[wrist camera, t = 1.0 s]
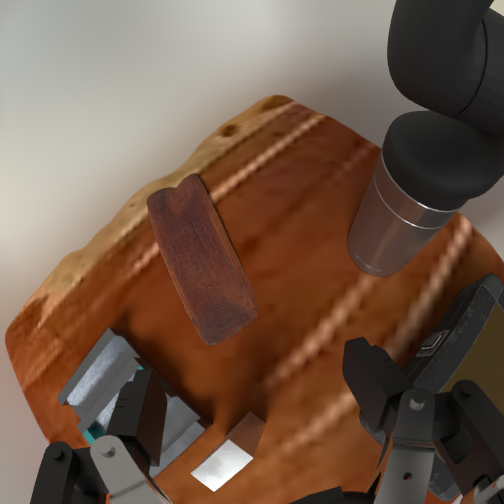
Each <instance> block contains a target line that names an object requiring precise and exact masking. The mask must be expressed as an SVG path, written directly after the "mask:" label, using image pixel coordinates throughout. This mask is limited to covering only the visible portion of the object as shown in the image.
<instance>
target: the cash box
mask: <svg viewBox="0 0 504 504" xmlns="http://www.w3.org/2000/svg"><path fill="white" fill-rule="evenodd" d="M402 372H403V373H404V374H405V375H406V377H407V378H408V379H409V380H410V382H411V383H412V384H413V385H414V387H415V388H423V389H426V390H428V391H430V392H431V393H432V394H437V393H443V392H448V391H451V389H452V387H453V385H454V384H455V383H456V382H457V381H460V380H465V379H466V380H471V381H473V382H475V383H476V384H477V385H478V386H479V387H480V388H481V389H482V390H483V392H484V393H485V394H486V395H487V396H488V398H489V399H490V400H491V401H492V402H493V404H494V405H495V406H496V407H497V409H498V410H499V411H500V412H501V414H502V415H503V416H504V285H503V284H502V282H501V281H500V280H499V278H498V277H497V276H496V275H494V274H493V273H489V274H487V275H485V276H484V277H482V278H480V279H479V280H477V281H475V282H473V283H472V284H470V285H468V286H466V287H465V288H463V289H461V291H460V292H459V294H458V296H457V297H456V299H455V300H454V302H453V303H452V305H451V306H450V308H449V309H448V311H447V312H446V314H445V315H444V317H443V318H442V319H441V321H440V322H439V324H438V325H437V326H436V328H435V329H434V330H433V332H432V333H431V334H430V336H429V337H428V338H427V339H426V340H425V342H424V343H423V344H422V345H421V347H420V348H419V350H418V351H417V352H416V353H415V355H414V356H413V357H412V358H411V359H410V360H409V362H408V363H407V364H406V365H405V366H404V367H403V369H402ZM359 418H360V421H361V424H362V426H363V427H364V428H365V429H366V430H367V431H368V432H369V433H370V434H371V436H372V437H373V438H374V439H375V440H376V441H377V442H378V443H379V444H380V445H381V446H382V444H383V441H384V438H385V435H386V434H385V432H384V431H383V430H382V431H380V432H377V433H374V432H373V430H372V428H371V426H370V424H369V423H368V421H367V419H366V417H365V415H364V413H363V412H362V413H361V414H360V416H359ZM464 429H465V428H464ZM466 432H467V431H466ZM467 433H468V432H467ZM468 435H469V434H468ZM469 436H470V435H469ZM470 438H471V437H470ZM471 439H472V438H471ZM472 441H473V440H472ZM431 444H434V442H433V441H431ZM434 445H435V444H434ZM428 490H429V491H430V492H431V493H433V494H434V495H435V496H437V497H438V498H439V499H440V500H442V501H450V500H452V499H453V498H454V497H456V496H457V495H458V494H459V493H460V490H459V488H458V486H457V484H456V482H455V480H454V478H453V476H452V474H451V473H450V471H449V469H448V467H447V465H446V464H445V462H444V460H443V458H442V456H441V455H440V453H439V451H438V449H437V448H436V446H435V453H434V459H433V465H432V470H431V475H430V480H429V484H428Z"/></svg>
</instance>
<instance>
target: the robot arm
mask: <svg viewBox="0 0 504 504" xmlns="http://www.w3.org/2000/svg"><path fill="white" fill-rule="evenodd" d="M493 1H494V0H396V4H395V7H394V11H393V15H392V19H391V24H390V29H389V36H388V47H387V51H388V52H387V59H388V67H389V71H390V75H391V78H392V80H393V82H394V84H395V86H396V87H397V89H398V90H399V91H400V92H401V94H403V95H404V96H405V97H406V98H408V99H409V100H411V101H413V102H414V103H416V104H418V105H420V106H422V107H424V108H427V109H429V110H430V111H415V112H409V113H405V114H403V115H401V116H399V117H397V118H396V119H395V120H394V121H393V122H392V124H391V125H390V127H389V129H388V131H387V134H386V137H385V140H384V143H383V146H382V149H381V152H380V155H379V158H378V160H377V163H376V166H375V169H374V172H373V175H372V177H371V180H370V183H369V185H368V188H367V190H366V193H365V195H364V198H363V200H362V203H361V205H360V208H359V210H358V213H357V215H356V217H355V220H354V222H353V225H352V227H351V229H350V232H349V235H348V249H349V253H350V255H351V257H352V259H353V261H354V262H355V263H356V265H357V266H358V267H359V268H360V269H362V270H363V271H364V272H366V273H368V274H370V275H373V276H378V277H386V276H390V275H393V274H395V273H396V272H398V271H399V270H400V269H401V268H402V267H404V266H405V265H406V264H407V263H408V262H409V261H410V260H411V259H412V258H413V257H414V256H415V255H416V254H417V253H419V252H420V251H421V250H422V249H423V248H424V247H425V246H426V245H427V244H428V243H429V242H430V241H431V240H432V239H433V238H434V237H435V236H436V234H437V233H438V232H439V231H440V230H441V229H442V228H443V227H444V226H445V225H446V224H447V223H448V222H449V221H450V220H451V218H452V217H453V216H454V215H455V214H456V213H457V212H458V211H459V209H460V208H461V207H462V206H463V205H464V204H465V203H466V202H467V201H468V200H469V199H471V198H475V197H478V196H480V195H482V194H484V193H486V192H487V191H488V190H489V189H490V188H491V187H493V186H494V184H495V183H496V182H497V181H498V180H499V179H500V178H501V177H502V176H503V175H504V16H502V15H500V14H499V13H497V12H496V11H494V10H492V9H491V8H489V7H490V6H491V4H492V2H493ZM342 371H343V376H344V379H345V381H346V383H347V385H348V386H349V388H350V390H351V392H352V394H353V395H354V397H355V399H356V401H357V403H358V404H359V406H360V408H361V410H362V412H363V413H364V415H365V417H366V419H367V421H368V423H369V424H370V426H371V428H372V430H373V432H374V433H377V432H380V431H382V430H383V431H384V432H385V434H386V435H385V438H384V441H383V444H382V448H381V451H380V454H379V457H378V460H377V463H376V466H375V469H374V472H373V474H372V477H371V479H370V481H369V483H368V485H367V487H366V490H365V492H356V491H345V492H342V489H341V487H340V486H339V487H336V488H332V489H329V490H325V491H322V492H318V493H314V494H310V495H308V496H306V497H304V498H301V499H299V500H297V501H294V502H292V503H290V504H424V500H425V497H426V493H427V489H428V484H429V480H430V475H431V470H432V465H433V459H434V453H435V446H436V448H437V449H438V451H439V453H440V455H441V456H442V458H443V460H444V462H445V464H446V465H447V467H448V469H449V471H450V473H451V474H452V476H453V478H454V480H455V482H456V484H457V486H458V488H459V490H460V492H461V493H462V495H463V498H462V499H461V502H460V504H504V416H503V415H502V414H501V412H500V411H499V410H498V409H497V407H496V406H495V405H494V404H493V402H492V401H491V400H490V399H489V398H488V396H487V395H486V394H485V393H484V392H483V390H482V389H481V388H480V387H479V386H478V385H477V384H476V383H475V382H473V381H471V380H466V379H465V380H460V381H457V382H456V383H455V384H454V385H453V387H452V389H451V391H448V392H443V393H437V394H432V393H431V392H430V391H428V390H426V389H423V388H415V387H414V385H413V384H412V383H411V382H410V380H409V379H408V378H407V377H406V375H405V374H404V373H403V372H402V370H401V369H400V368H399V367H398V366H396V363H395V362H394V361H393V359H391V357H390V356H389V354H388V353H387V352H386V351H385V350H384V349H382V348H380V347H378V346H377V345H374V346H370V344H369V343H368V342H367V341H366V339H365V338H364V337H360V338H356V339H352V340H349V341H346V343H345V348H344V357H343V366H342ZM166 412H167V397H166V393H165V391H164V389H163V386H162V384H161V382H160V379H159V377H158V375H157V372H156V370H155V369H138V370H136V372H135V375H134V378H133V381H127V382H126V383H125V385H124V386H123V387H122V388H121V389H120V392H119V395H118V397H117V400H116V403H115V408H114V409H113V412H112V415H111V418H110V422H109V425H108V428H107V431H106V434H105V436H102V437H99V438H98V439H96V440H95V441H94V442H93V444H92V445H91V447H87V448H80V449H72V448H71V447H70V446H69V445H68V444H67V443H65V442H61V441H58V442H54V443H52V444H50V445H49V446H48V447H47V449H46V450H45V453H44V456H43V459H42V462H41V465H40V468H39V472H38V475H37V479H36V482H35V486H34V490H33V493H32V498H31V501H30V504H105V503H106V494H107V493H110V494H111V497H109V500H110V503H111V504H173V503H172V502H171V501H170V499H169V498H168V497H167V496H166V495H165V493H164V492H163V491H162V490H161V488H160V487H159V486H158V485H157V483H156V482H155V481H154V479H153V478H152V477H151V475H150V474H149V472H150V466H152V467H159V466H160V457H161V448H162V441H163V433H164V426H165V419H166ZM464 428H465V429H464ZM466 431H467V432H468V433H467V432H466ZM468 434H469V435H470V436H469V435H468ZM470 437H471V438H472V439H471V438H470ZM472 440H473V441H472ZM431 441H433V442H434V444H435V445H434V444H431Z"/></svg>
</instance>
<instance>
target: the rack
mask: <svg viewBox="0 0 504 504" xmlns="http://www.w3.org/2000/svg"><path fill="white" fill-rule="evenodd" d="M138 369H155V368H154V367H153V365H152V364H151V363H150V362H149V361H148V360H147V359H146V358H145V357H144V356H143V354H142V353H141V352H140V351H139V350H138V349H137V348H136V346H135V345H134V344H133V343H132V342H131V341H130V339H129V338H128V337H127V336H126V335H125V333H124V332H123V331H120V330H117V329H113V328H108V329H107V330H106V332H105V333H104V334H103V335H102V337H101V338H100V339H99V341H98V342H97V343H96V345H95V346H94V347H93V349H92V350H91V351H90V353H89V354H88V355H87V357H86V358H85V359H84V361H83V362H82V363H81V365H80V366H79V367H78V369H77V370H76V372H75V373H74V374H73V376H72V377H71V378H70V380H69V381H68V383H67V384H66V386H65V387H64V388H63V390H62V391H61V393H60V394H59V396H58V397H57V398H58V400H59V402H60V403H61V405H62V406H63V405H71V407H72V408H73V410H74V411H75V412H76V414H77V415H78V417H79V418H80V419H81V422H80V423H79V424H78V426H77V428H78V429H79V431H80V432H81V433H82V435H83V436H84V437H85V438H86V440H87V441H88V442H89V443H90V445H92V444H93V442H94V441H95V440H96V439H98V438H99V437H102V436H105V434H106V431H107V428H108V425H109V422H110V418H111V415H112V412H113V409H114V408H115V403H116V400H117V397H118V395H119V392H120V389H121V388H122V387H123V386H124V385H125V383H126V382H127V381H133V378H134V375H135V372H136V370H138ZM155 370H156V369H155ZM156 372H157V375H158V377H159V379H160V382H161V384H162V386H163V389H164V391H165V393H166V397H167V412H166V419H165V426H164V433H163V441H162V448H161V457H160V466H159V467H152V466H150V472H149V474H150V475H151V477H152V478H153V479H154V478H155V477H157V476H158V475H159V474H160V473H161V472H162V471H163V470H165V469H166V468H167V467H168V466H169V465H170V464H171V463H173V462H174V461H175V460H176V459H177V458H178V457H179V456H180V455H181V454H182V453H183V452H185V451H186V450H187V449H188V448H189V447H190V446H191V445H192V444H193V443H194V442H195V441H196V440H197V439H198V438H199V437H200V436H201V435H202V434H203V433H204V432H205V431H206V430H207V429H208V428H209V427H210V426H211V425H212V424H213V423H212V422H211V421H210V420H209V419H207V418H206V417H205V416H204V415H203V414H202V413H201V412H199V411H198V410H197V409H196V408H195V407H194V406H193V405H192V404H191V403H190V402H189V401H187V400H186V399H185V398H184V397H183V396H182V395H181V394H180V393H179V392H178V391H177V390H176V389H175V388H174V387H173V386H172V385H171V384H170V383H169V382H168V381H167V380H166V379H165V378H164V377H163V376H162V375H161V374H160V373H159V372H158V371H157V370H156Z"/></svg>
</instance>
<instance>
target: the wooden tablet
mask: <svg viewBox="0 0 504 504" xmlns="http://www.w3.org/2000/svg"><path fill="white" fill-rule="evenodd" d="M147 206H148V212H149V216H150V220H151V224H152V227H153V230H154V234H155V237H156V240H157V243H158V246H159V248H160V251H161V254H162V257H163V259H164V261H165V264H166V266H167V268H168V271H169V273H170V276H171V278H172V280H173V283H174V285H175V287H176V289H177V292H178V294H179V296H180V298H181V300H182V303H183V305H184V307H185V309H186V311H187V313H188V315H189V317H190V318H191V319H192V323H193V325H194V327H195V329H196V330H197V332H198V334H199V336H200V337H201V338H202V340H203V341H204V342H205V343H206V344H207V345H209V346H211V345H214V344H218V343H220V342H222V341H224V340H227V339H229V338H231V337H233V336H234V335H235V334H236V333H237V332H238V330H239V329H243V328H245V327H247V326H248V325H250V323H251V322H252V321H253V320H254V319H255V318H256V317H257V316H258V308H257V303H256V298H255V295H254V291H253V288H252V286H251V283H250V281H249V279H248V277H247V275H246V273H245V271H244V270H243V268H242V265H241V263H240V261H239V259H238V257H237V255H236V253H235V251H234V249H233V247H232V245H231V243H230V241H229V239H228V236H227V234H226V232H225V230H224V227H223V225H222V223H221V221H220V219H219V216H218V214H217V212H216V210H215V208H214V206H213V204H212V202H211V200H210V198H209V196H208V194H207V191H206V189H205V187H204V185H203V184H202V182H201V180H200V179H199V177H198V176H197V175H195V174H192V175H189V176H187V177H186V178H184V179H183V180H182V181H181V182H180V184H179V185H178V187H177V188H165V189H162V190H159V191H157V192H155V193H153V194H151V195H150V196H149V197H148V198H147Z"/></svg>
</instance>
